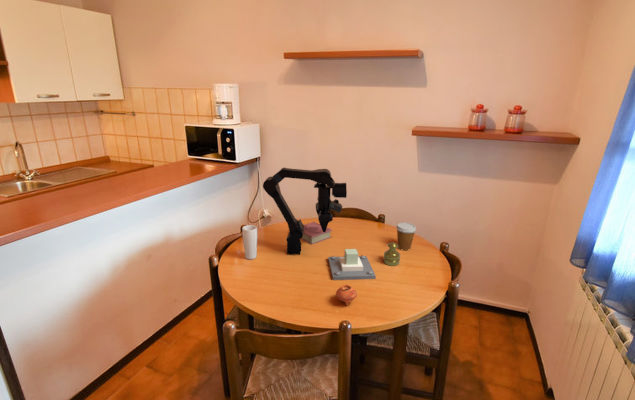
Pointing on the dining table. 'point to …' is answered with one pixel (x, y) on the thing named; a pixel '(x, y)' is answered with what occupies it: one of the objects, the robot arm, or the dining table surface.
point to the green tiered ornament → (392, 255)
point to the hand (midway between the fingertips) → (323, 228)
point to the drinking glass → (250, 241)
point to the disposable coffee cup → (405, 235)
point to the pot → (346, 294)
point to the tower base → (350, 273)
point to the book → (315, 233)
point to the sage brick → (351, 256)
